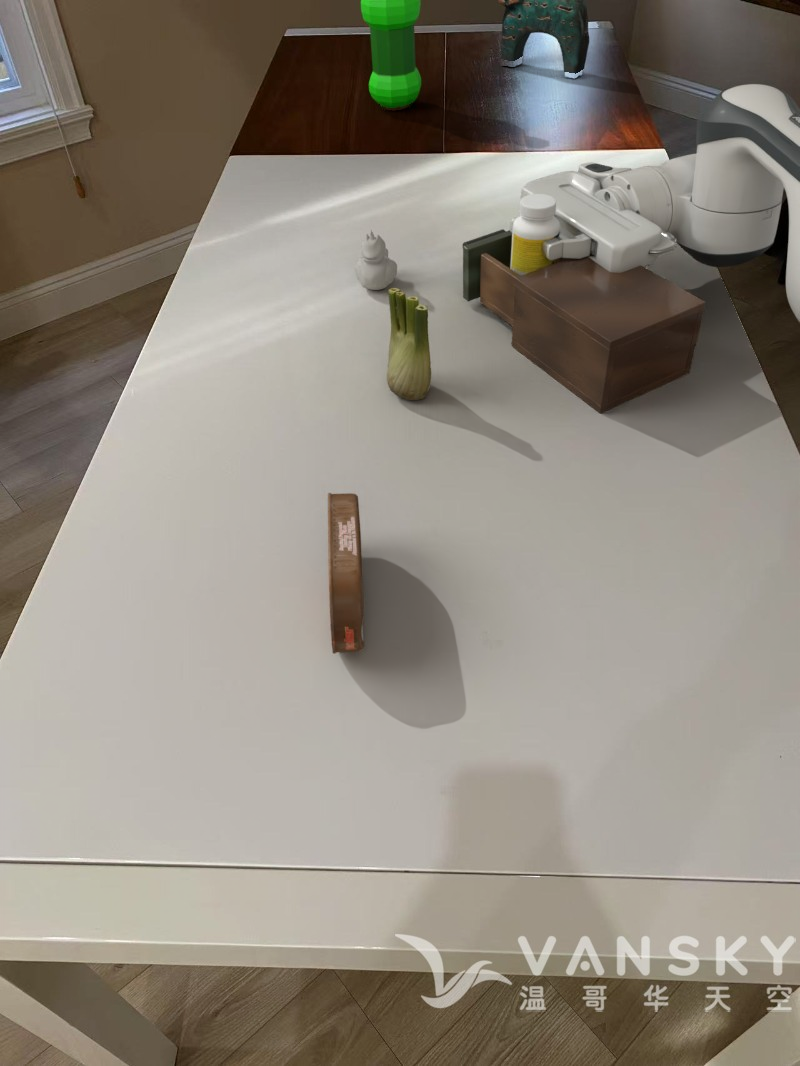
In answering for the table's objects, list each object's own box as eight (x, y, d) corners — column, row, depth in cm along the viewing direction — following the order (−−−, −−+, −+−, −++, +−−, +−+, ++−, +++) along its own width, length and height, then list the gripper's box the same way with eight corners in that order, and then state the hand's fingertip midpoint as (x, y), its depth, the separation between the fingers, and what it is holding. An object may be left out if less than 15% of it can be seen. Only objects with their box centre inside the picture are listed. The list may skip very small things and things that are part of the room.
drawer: (444, 283, 106) (443, 232, 102) (517, 257, 110) (519, 207, 105) (533, 350, 95) (537, 296, 90) (611, 319, 99) (619, 265, 94)
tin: (331, 540, 77) (320, 472, 70) (365, 537, 77) (356, 469, 71) (333, 675, 66) (320, 608, 60) (372, 672, 66) (363, 605, 60)
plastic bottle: (426, 96, 159) (421, -62, 141) (419, 116, 151) (413, -47, 134) (374, 96, 160) (364, -60, 142) (365, 116, 153) (352, -46, 135)
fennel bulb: (437, 403, 90) (434, 305, 82) (393, 411, 90) (386, 313, 81) (425, 374, 94) (422, 277, 86) (383, 381, 94) (375, 284, 85)
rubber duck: (350, 294, 108) (344, 236, 102) (366, 270, 112) (360, 212, 106) (390, 298, 106) (386, 239, 101) (404, 274, 111) (401, 216, 105)
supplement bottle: (557, 292, 97) (565, 210, 90) (511, 294, 97) (515, 212, 90) (552, 269, 101) (559, 189, 94) (508, 271, 101) (511, 191, 94)
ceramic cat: (490, 66, 169) (493, -52, 155) (508, 57, 172) (512, -59, 158) (574, 82, 159) (585, -41, 145) (591, 73, 163) (604, -49, 149)
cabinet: (511, 346, 97) (514, 277, 91) (596, 312, 102) (604, 244, 95) (600, 413, 88) (610, 342, 81) (689, 373, 92) (706, 302, 85)
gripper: (680, 271, 94) (578, 303, 90) (576, 206, 107) (484, 232, 104) (691, 217, 90) (584, 249, 86) (581, 157, 103) (485, 181, 99)
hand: (528, 239), depth 95 cm, fingers closed on supplement bottle, 5 cm apart
